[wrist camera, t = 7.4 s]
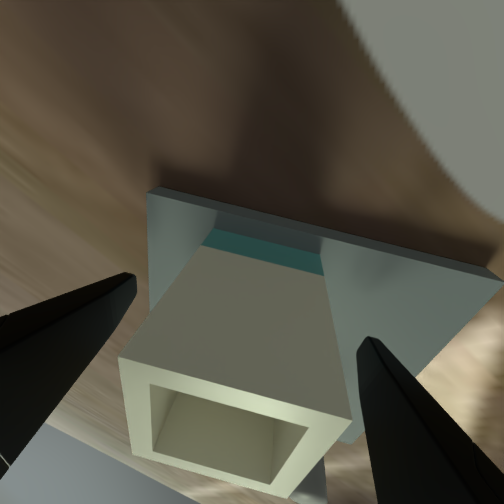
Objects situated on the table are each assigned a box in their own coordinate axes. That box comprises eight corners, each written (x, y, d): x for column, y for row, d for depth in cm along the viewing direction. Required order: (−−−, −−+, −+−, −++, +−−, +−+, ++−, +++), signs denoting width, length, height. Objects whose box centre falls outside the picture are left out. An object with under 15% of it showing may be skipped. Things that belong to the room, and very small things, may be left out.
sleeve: (289, 329, 12) (286, 498, 6) (203, 307, 12) (132, 454, 7) (319, 254, 9) (353, 420, 4) (213, 227, 10) (117, 356, 4)
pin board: (486, 268, 10) (644, 388, 5) (348, 427, 17) (367, 535, 12) (159, 186, 10) (57, 235, 6) (159, 375, 17) (113, 461, 13)
